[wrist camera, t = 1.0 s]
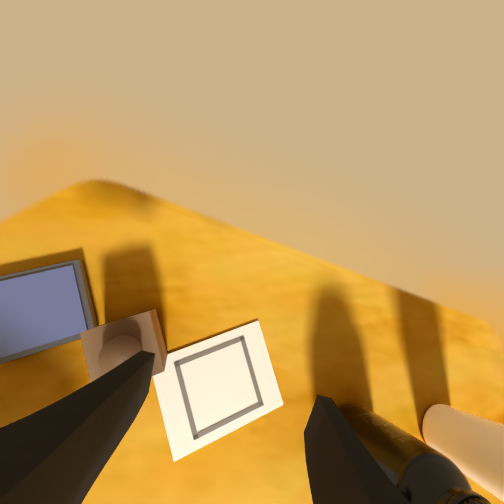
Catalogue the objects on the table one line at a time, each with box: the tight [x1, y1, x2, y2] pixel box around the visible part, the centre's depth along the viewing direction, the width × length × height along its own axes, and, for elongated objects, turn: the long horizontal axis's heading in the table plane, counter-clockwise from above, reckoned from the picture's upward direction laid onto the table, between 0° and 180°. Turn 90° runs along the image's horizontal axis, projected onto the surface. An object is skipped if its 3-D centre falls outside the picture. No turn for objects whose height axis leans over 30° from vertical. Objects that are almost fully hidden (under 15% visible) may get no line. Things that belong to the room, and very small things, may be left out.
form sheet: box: [153, 321, 283, 462], centre depth 21 cm, size 10×8×1 cm
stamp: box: [80, 308, 168, 382], centre depth 17 cm, size 4×4×6 cm
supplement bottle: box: [339, 404, 491, 504], centre depth 18 cm, size 7×7×12 cm
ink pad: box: [0, 259, 98, 364], centre depth 18 cm, size 6×6×1 cm
